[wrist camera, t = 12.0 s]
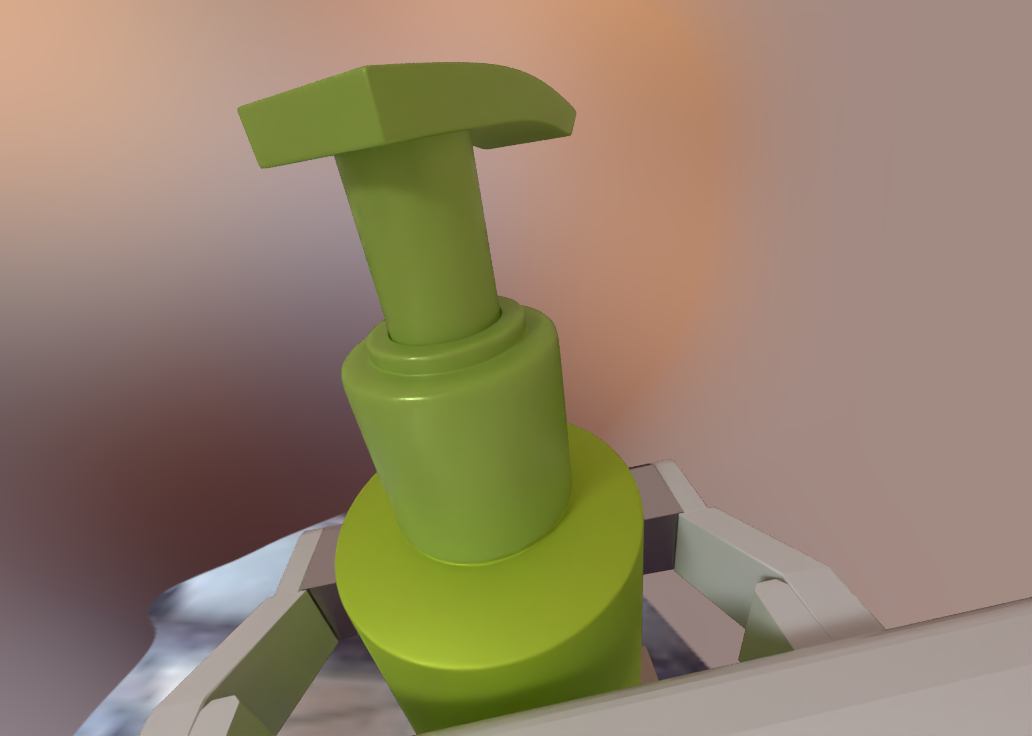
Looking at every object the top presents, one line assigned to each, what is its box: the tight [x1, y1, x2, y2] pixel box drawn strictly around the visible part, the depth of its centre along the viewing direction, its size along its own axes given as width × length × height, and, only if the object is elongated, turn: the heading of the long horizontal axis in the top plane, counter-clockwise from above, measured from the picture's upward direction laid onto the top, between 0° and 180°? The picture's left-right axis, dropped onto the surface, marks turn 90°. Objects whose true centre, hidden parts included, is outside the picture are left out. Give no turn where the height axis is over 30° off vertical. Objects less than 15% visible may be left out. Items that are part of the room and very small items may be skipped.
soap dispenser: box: [238, 62, 644, 735], centre depth 10 cm, size 6×7×20 cm
